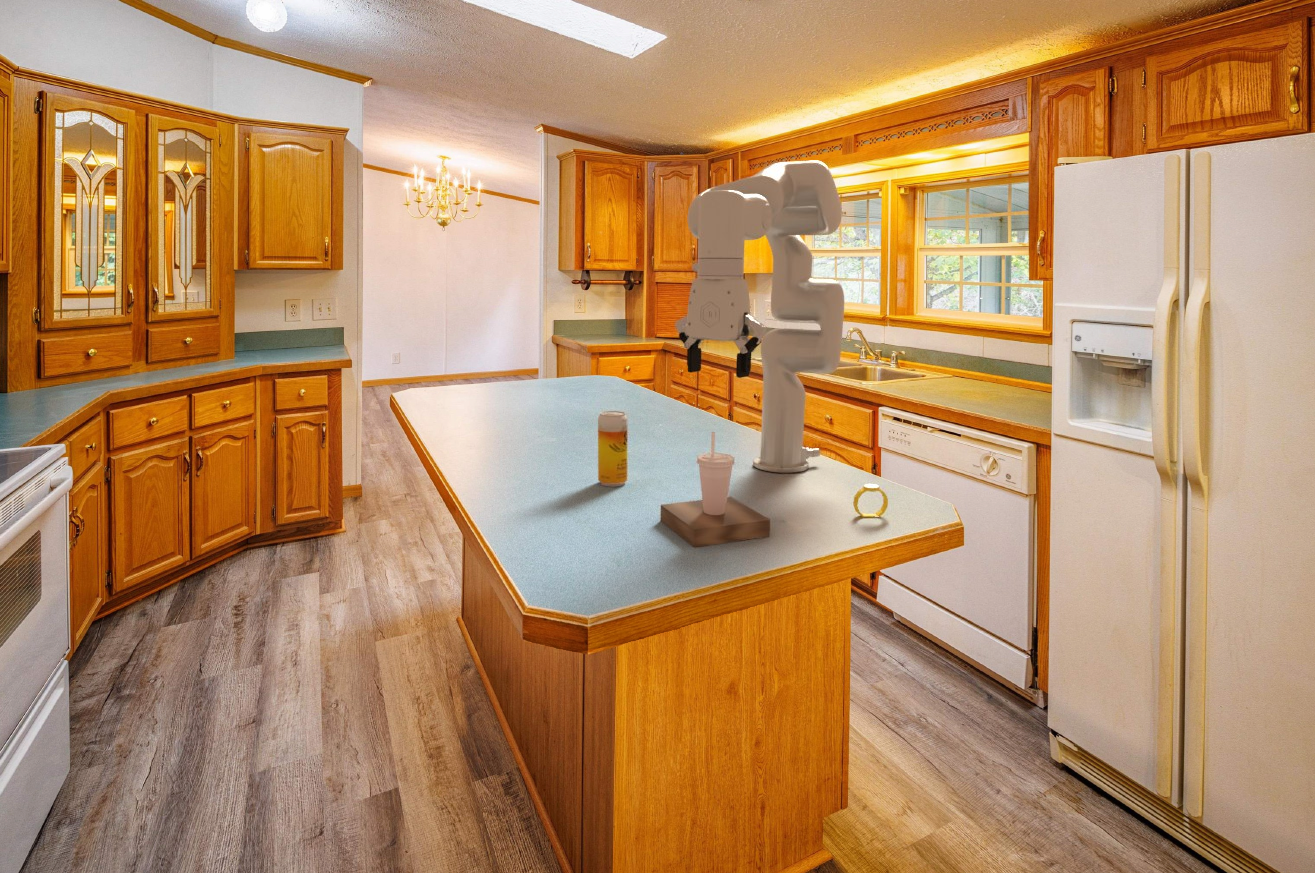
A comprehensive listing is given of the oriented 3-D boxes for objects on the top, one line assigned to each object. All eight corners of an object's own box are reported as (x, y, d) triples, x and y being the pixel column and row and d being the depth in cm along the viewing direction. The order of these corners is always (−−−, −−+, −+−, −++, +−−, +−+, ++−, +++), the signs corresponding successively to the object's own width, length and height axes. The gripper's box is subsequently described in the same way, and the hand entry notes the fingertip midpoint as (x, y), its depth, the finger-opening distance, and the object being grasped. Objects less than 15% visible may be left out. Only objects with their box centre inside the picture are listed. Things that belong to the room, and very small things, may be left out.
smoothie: (693, 506, 128) (695, 428, 125) (729, 505, 129) (731, 428, 126) (698, 518, 122) (700, 436, 119) (736, 517, 123) (739, 436, 119)
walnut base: (730, 512, 135) (730, 496, 134) (769, 536, 122) (770, 519, 122) (660, 520, 130) (660, 504, 129) (694, 547, 117) (694, 529, 116)
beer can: (623, 488, 150) (623, 416, 146) (594, 486, 151) (594, 415, 148) (630, 480, 155) (630, 411, 152) (602, 478, 157) (602, 410, 153)
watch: (856, 520, 132) (856, 489, 131) (851, 515, 135) (851, 484, 134) (889, 518, 132) (889, 486, 131) (883, 513, 135) (883, 482, 134)
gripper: (664, 270, 121) (663, 372, 125) (755, 270, 111) (751, 381, 115) (690, 270, 127) (688, 367, 131) (778, 270, 117) (774, 376, 121)
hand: (717, 374), depth 123 cm, fingers open, 9 cm apart
